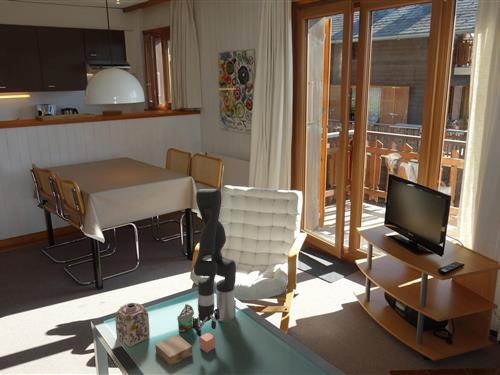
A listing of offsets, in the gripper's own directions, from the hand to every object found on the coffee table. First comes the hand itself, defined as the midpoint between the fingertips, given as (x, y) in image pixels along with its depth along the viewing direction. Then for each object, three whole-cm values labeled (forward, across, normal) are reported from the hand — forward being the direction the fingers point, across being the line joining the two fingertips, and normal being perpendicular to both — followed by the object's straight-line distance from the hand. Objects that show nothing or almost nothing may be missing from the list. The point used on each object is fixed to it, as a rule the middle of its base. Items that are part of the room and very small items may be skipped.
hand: (206, 332), depth 207 cm
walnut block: (+9, +14, -7) cm, 18 cm away
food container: (+9, -3, -19) cm, 21 cm away
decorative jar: (+9, +21, -31) cm, 38 cm away
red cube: (+9, 0, 0) cm, 9 cm away
